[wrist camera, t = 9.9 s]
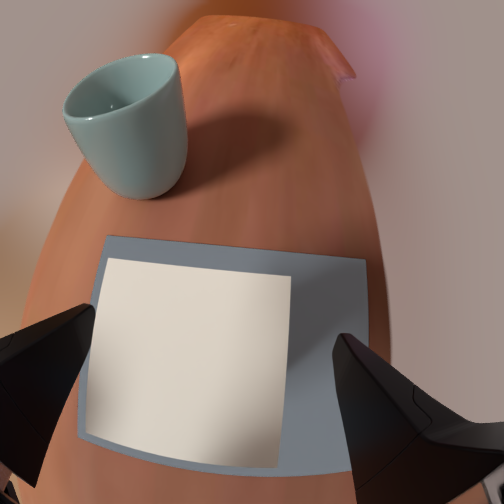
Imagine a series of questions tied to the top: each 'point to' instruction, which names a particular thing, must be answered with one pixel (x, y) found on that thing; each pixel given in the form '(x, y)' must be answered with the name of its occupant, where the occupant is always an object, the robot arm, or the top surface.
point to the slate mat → (299, 346)
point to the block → (190, 362)
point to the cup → (131, 124)
